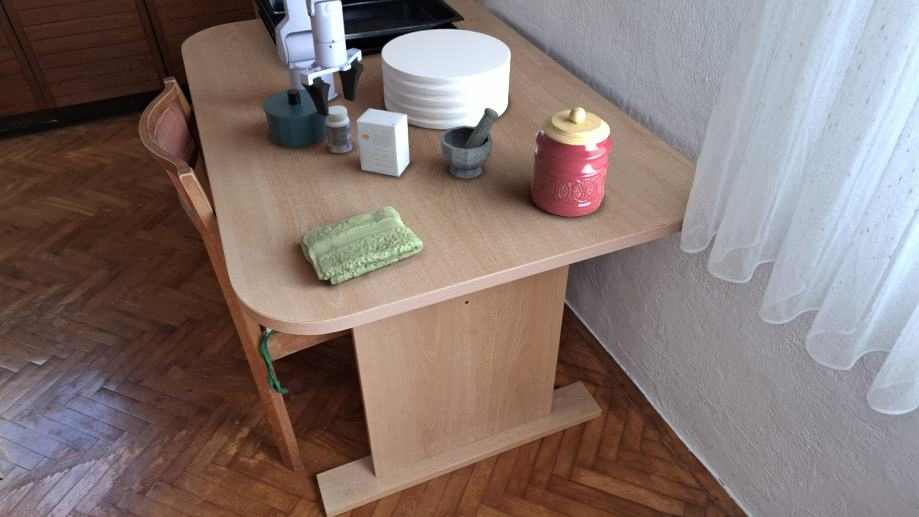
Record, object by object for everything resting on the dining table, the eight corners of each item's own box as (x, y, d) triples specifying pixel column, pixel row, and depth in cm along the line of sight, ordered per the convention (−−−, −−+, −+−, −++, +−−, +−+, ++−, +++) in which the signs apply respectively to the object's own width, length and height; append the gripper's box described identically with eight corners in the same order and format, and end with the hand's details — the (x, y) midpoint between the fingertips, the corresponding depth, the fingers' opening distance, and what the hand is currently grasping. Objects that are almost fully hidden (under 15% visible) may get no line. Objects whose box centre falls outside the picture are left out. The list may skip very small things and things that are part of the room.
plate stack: (482, 70, 164) (484, 23, 156) (526, 119, 143) (530, 68, 136) (372, 83, 156) (369, 36, 149) (402, 137, 136) (399, 85, 129)
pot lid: (279, 91, 139) (276, 75, 137) (336, 97, 137) (334, 81, 135) (252, 118, 129) (248, 101, 127) (313, 125, 127) (311, 108, 125)
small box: (410, 163, 128) (408, 113, 121) (398, 177, 124) (396, 127, 117) (372, 156, 130) (368, 107, 123) (360, 170, 125) (355, 119, 119)
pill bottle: (354, 152, 131) (350, 113, 126) (330, 155, 130) (325, 116, 125) (350, 141, 134) (346, 103, 129) (327, 143, 133) (322, 105, 128)
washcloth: (294, 244, 107) (292, 228, 105) (393, 215, 114) (392, 199, 112) (322, 291, 98) (320, 275, 96) (427, 256, 105) (427, 240, 103)
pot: (284, 118, 142) (279, 90, 138) (336, 124, 140) (333, 95, 136) (260, 144, 133) (255, 114, 129) (315, 150, 131) (311, 121, 127)
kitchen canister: (584, 227, 112) (599, 134, 101) (517, 204, 117) (524, 113, 106) (613, 192, 120) (629, 103, 109) (549, 172, 126) (559, 85, 115)
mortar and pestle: (450, 187, 121) (450, 128, 114) (433, 163, 128) (432, 106, 120) (505, 175, 125) (509, 117, 117) (485, 152, 131) (488, 96, 124)
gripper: (317, 54, 112) (326, 127, 120) (371, 30, 121) (376, 98, 130) (287, 46, 115) (298, 117, 123) (342, 22, 124) (349, 90, 133)
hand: (336, 107), depth 127 cm, fingers open, 7 cm apart
